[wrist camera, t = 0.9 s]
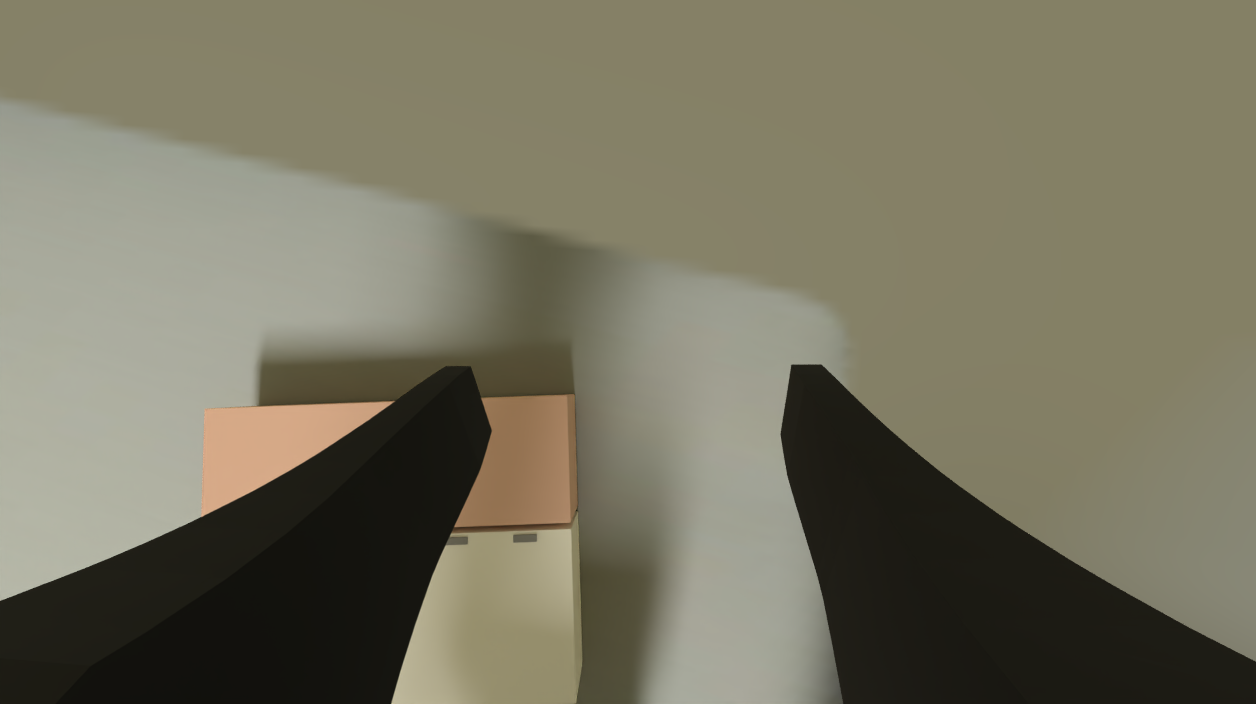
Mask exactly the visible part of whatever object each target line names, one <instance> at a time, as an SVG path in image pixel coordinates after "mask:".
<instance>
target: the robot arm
mask: <svg viewBox="0 0 1256 704" xmlns="http://www.w3.org/2000/svg"><path fill="white" fill-rule="evenodd" d="M491 433H492V429H491V426H490V423H489V420H488V417H487V414H486V411H485V408H484V405H483V402H482V399H481V396H480V393H479V390H478V387H477V384H476V381H475V378H474V375H473V372H472V369H471V366H446V367H444V368H443V369H441V370H439V371H438V372H436V373H435V374H433V375H432V376H430V377H429V378H427V379H426V380H424V381H423V382H421V383H420V384H418V385H417V386H416V387H414V388H413V389H411V390H410V391H409V392H407V393H406V394H404V395H403V396H402V397H400V398H399V399H397V400H396V401H395V402H393V403H392V404H390V405H389V406H387V407H386V408H385V409H383V410H382V411H380V412H379V413H378V414H376V415H375V416H373V417H372V418H371V419H369V420H368V421H366V422H365V423H363V424H362V425H360V426H359V427H357V428H356V429H354V430H353V431H351V432H350V433H348V434H347V435H345V436H344V437H342V438H341V439H339V440H338V441H336V442H335V443H333V444H332V445H330V446H328V447H327V448H325V449H324V450H322V451H321V452H319V453H318V454H316V455H315V456H313V457H311V458H310V459H308V460H306V461H305V462H303V463H301V464H300V465H298V466H296V467H295V468H293V469H291V470H290V471H288V472H286V473H284V474H282V475H281V476H279V477H277V478H275V479H274V480H272V481H270V482H268V483H267V484H265V485H263V486H261V487H259V488H257V489H256V490H254V491H252V492H250V493H248V494H246V495H244V496H242V497H240V498H238V499H236V500H234V501H232V502H230V503H228V504H226V505H224V506H222V507H220V508H218V509H216V510H214V511H212V512H210V513H208V514H206V515H204V516H202V517H200V518H198V519H196V520H194V521H192V522H190V523H188V524H186V525H184V526H182V527H179V528H177V529H175V530H173V531H171V532H168V533H166V534H164V535H162V536H160V537H157V538H155V539H153V540H151V541H149V542H146V543H144V544H142V545H139V546H137V547H135V548H132V549H130V550H128V551H125V552H123V553H121V554H118V555H116V556H114V557H111V558H109V559H107V560H104V561H102V562H99V563H97V564H94V565H92V566H90V567H87V568H85V569H82V570H79V571H77V572H74V573H72V574H69V575H67V576H64V577H61V578H59V579H56V580H54V581H51V582H48V583H46V584H43V585H41V586H38V587H35V588H33V589H30V590H28V591H25V592H22V593H20V594H17V595H15V596H12V597H9V598H7V599H4V600H1V601H0V704H391V703H392V699H393V696H394V692H395V689H396V685H397V682H398V678H399V675H400V671H401V668H402V665H403V662H404V659H405V656H406V652H407V649H408V646H409V643H410V640H411V637H412V634H413V630H414V627H415V624H416V621H417V618H418V615H419V613H420V610H421V607H422V604H423V601H424V598H425V595H426V592H427V590H428V587H429V584H430V581H431V578H432V576H433V573H434V571H435V568H436V566H437V564H438V561H439V559H440V556H441V554H442V552H443V550H444V548H445V546H446V543H447V541H448V539H449V537H450V535H451V533H452V531H453V528H454V526H455V524H456V522H457V520H458V518H459V516H460V513H461V511H462V509H463V507H464V505H465V503H466V500H467V498H468V496H469V494H470V492H471V489H472V487H473V485H474V483H475V481H476V478H477V476H478V474H479V471H480V469H481V466H482V463H483V460H484V457H485V454H486V450H487V447H488V443H489V440H490V436H491ZM781 440H782V447H783V453H784V459H785V465H786V470H787V476H788V480H789V483H790V487H791V490H792V493H793V497H794V500H795V503H796V507H797V510H798V513H799V517H800V520H801V523H802V527H803V530H804V533H805V537H806V540H807V543H808V546H809V550H810V553H811V556H812V560H813V563H814V566H815V570H816V573H817V576H818V580H819V584H820V588H821V592H822V596H823V600H824V605H825V610H826V615H827V620H828V625H829V630H830V635H831V640H832V645H833V650H834V656H835V661H836V667H837V672H838V677H839V683H840V688H841V694H842V699H843V704H1256V662H1255V661H1253V660H1251V659H1249V658H1247V657H1245V656H1244V655H1242V654H1240V653H1238V652H1235V651H1234V650H1232V649H1230V648H1228V647H1226V646H1224V645H1222V644H1220V643H1218V642H1216V641H1214V640H1212V639H1210V638H1208V637H1206V636H1204V635H1202V634H1200V633H1198V632H1197V631H1195V630H1193V629H1190V628H1189V627H1187V626H1185V625H1183V624H1182V623H1180V622H1178V621H1176V620H1174V619H1172V618H1171V617H1169V616H1167V615H1165V614H1163V613H1161V612H1160V611H1158V610H1156V609H1154V608H1152V607H1151V606H1149V605H1147V604H1145V603H1144V602H1142V601H1140V600H1138V599H1136V598H1135V597H1133V596H1131V595H1129V594H1127V593H1126V592H1124V591H1122V590H1120V589H1119V588H1117V587H1115V586H1113V585H1111V584H1110V583H1108V582H1106V581H1105V580H1103V579H1101V578H1100V577H1098V576H1096V575H1095V574H1093V573H1091V572H1089V571H1088V570H1086V569H1084V568H1083V567H1081V566H1079V565H1078V564H1076V563H1074V562H1073V561H1071V560H1069V559H1068V558H1066V557H1065V556H1063V555H1061V554H1060V553H1058V552H1057V551H1055V550H1053V549H1052V548H1050V547H1049V546H1047V545H1045V544H1044V543H1042V542H1041V541H1039V540H1037V539H1036V538H1034V537H1033V536H1031V535H1030V534H1028V533H1026V532H1025V531H1023V530H1022V529H1020V528H1018V527H1017V526H1016V525H1014V524H1013V523H1011V522H1010V521H1008V520H1006V519H1005V518H1003V517H1002V516H1001V515H999V514H998V513H996V512H995V511H993V510H992V509H991V508H989V507H988V506H986V505H985V504H984V503H982V502H980V501H979V500H978V499H977V498H975V497H974V496H972V495H971V494H970V493H968V492H967V491H965V490H964V489H963V488H961V487H960V486H958V485H957V484H956V483H954V482H953V481H952V480H950V479H949V478H948V477H946V476H945V475H944V474H942V473H941V472H940V471H938V470H937V469H936V468H935V467H934V466H932V465H931V464H930V463H929V462H928V461H926V460H925V459H924V458H923V457H921V456H920V455H919V454H918V453H917V452H915V451H914V450H913V449H912V448H910V447H909V446H908V445H907V444H906V443H905V442H903V441H902V440H901V439H900V438H898V436H896V435H895V434H894V433H893V432H892V431H891V430H890V429H889V428H887V427H886V426H885V425H884V424H883V423H882V422H881V421H880V420H879V419H877V418H876V417H875V416H874V415H873V414H872V413H871V412H870V411H869V410H868V409H867V408H866V407H865V406H863V405H862V404H861V403H860V402H859V401H858V400H857V399H856V398H855V397H854V396H853V395H852V394H851V393H850V392H849V391H848V390H847V389H846V388H845V387H844V386H843V385H842V384H841V383H840V382H839V381H838V380H837V379H836V378H835V377H834V376H833V375H832V374H831V373H830V372H829V371H828V370H827V369H826V368H825V367H823V366H822V365H791V371H790V378H789V384H788V390H787V397H786V403H785V409H784V416H783V422H782V428H781Z"/></svg>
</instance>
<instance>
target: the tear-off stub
mask: <svg viewBox="0 0 1256 704" xmlns="http://www.w3.org/2000/svg"><path fill="white" fill-rule="evenodd" d="M481 399H482V402H483V405H484V408H485V411H486V414H487V417H488V420H489V423H490V426H491V429H492V433H491V436H490V440H489V443H488V447H487V450H486V454H485V457H484V460H483V463H482V466H481V469H480V471H479V474H478V476H477V478H476V481H475V483H474V485H473V487H472V489H471V492H470V494H469V496H468V498H467V500H466V503H465V505H464V507H463V509H462V511H461V513H460V516H459V518H458V520H457V522H456V524H455V526H454V527H471V526H497V525H524V524H550V523H571V521H572V518H573V516H574V514H575V511H576V509H577V506H578V496H577V461H576V426H575V394H565V395H538V396H511V397H484V398H481ZM393 402H395V401H378V402H351V403H324V404H298V405H271V406H248V407H230V408H212V409H205V418H204V450H203V483H202V515H201V517H202V516H204V515H206V514H208V513H210V512H212V511H214V510H216V509H218V508H220V507H222V506H224V505H226V504H228V503H230V502H232V501H234V500H236V499H238V498H240V497H242V496H244V495H246V494H248V493H250V492H252V491H254V490H256V489H257V488H259V487H261V486H263V485H265V484H267V483H268V482H270V481H272V480H274V479H275V478H277V477H279V476H281V475H282V474H284V473H286V472H288V471H290V470H291V469H293V468H295V467H296V466H298V465H300V464H301V463H303V462H305V461H306V460H308V459H310V458H311V457H313V456H315V455H316V454H318V453H319V452H321V451H322V450H324V449H325V448H327V447H328V446H330V445H332V444H333V443H335V442H336V441H338V440H339V439H341V438H342V437H344V436H345V435H347V434H348V433H350V432H351V431H353V430H354V429H356V428H357V427H359V426H360V425H362V424H363V423H365V422H366V421H368V420H369V419H371V418H372V417H373V416H375V415H376V414H378V413H379V412H380V411H382V410H383V409H385V408H386V407H387V406H389V405H390V404H392V403H393Z"/></svg>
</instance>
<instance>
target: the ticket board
mask: <svg viewBox="0 0 1256 704" xmlns="http://www.w3.org/2000/svg"><path fill="white" fill-rule="evenodd" d="M581 669H582V628H581V593H580V558H579V523H578V511H575V514H574V516H573V518H572V521H571V523H550V524H524V525H497V526H471V527H454V528H453V531H452V533H451V535H450V537H449V539H448V541H447V543H446V546H445V548H444V550H443V552H442V554H441V556H440V559H439V561H438V564H437V566H436V568H435V571H434V573H433V576H432V578H431V581H430V584H429V587H428V590H427V592H426V595H425V598H424V601H423V604H422V607H421V610H420V613H419V615H418V618H417V621H416V624H415V627H414V630H413V634H412V637H411V640H410V643H409V646H408V649H407V652H406V656H405V659H404V662H403V665H402V668H401V671H400V675H399V678H398V682H397V685H396V689H395V692H394V696H393V699H392V703H391V704H575V703H576V700H577V694H578V688H579V682H580V676H581Z"/></svg>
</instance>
